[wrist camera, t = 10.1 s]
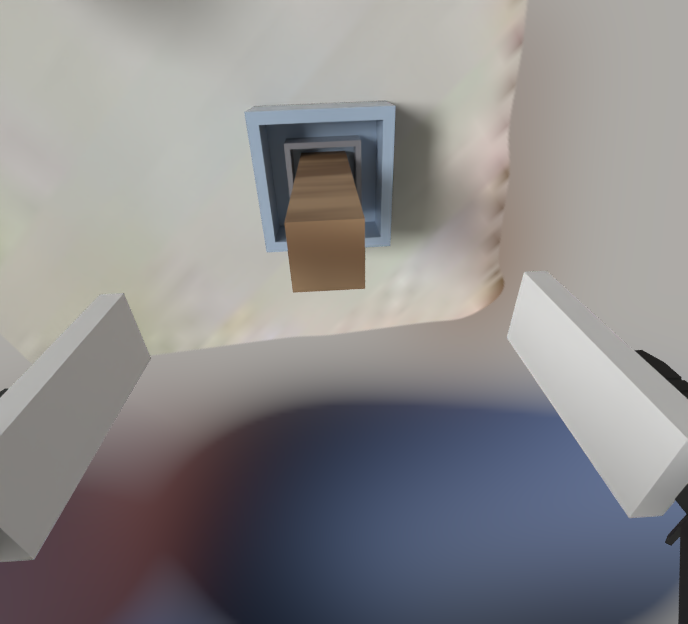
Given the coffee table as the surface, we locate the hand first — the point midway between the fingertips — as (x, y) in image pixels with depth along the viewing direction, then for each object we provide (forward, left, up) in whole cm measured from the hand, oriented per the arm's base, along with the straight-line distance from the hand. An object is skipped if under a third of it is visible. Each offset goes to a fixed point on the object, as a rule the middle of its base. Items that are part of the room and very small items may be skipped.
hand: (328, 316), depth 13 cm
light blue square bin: (0, 0, -22) cm, 22 cm away
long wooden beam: (0, 0, -21) cm, 21 cm away
